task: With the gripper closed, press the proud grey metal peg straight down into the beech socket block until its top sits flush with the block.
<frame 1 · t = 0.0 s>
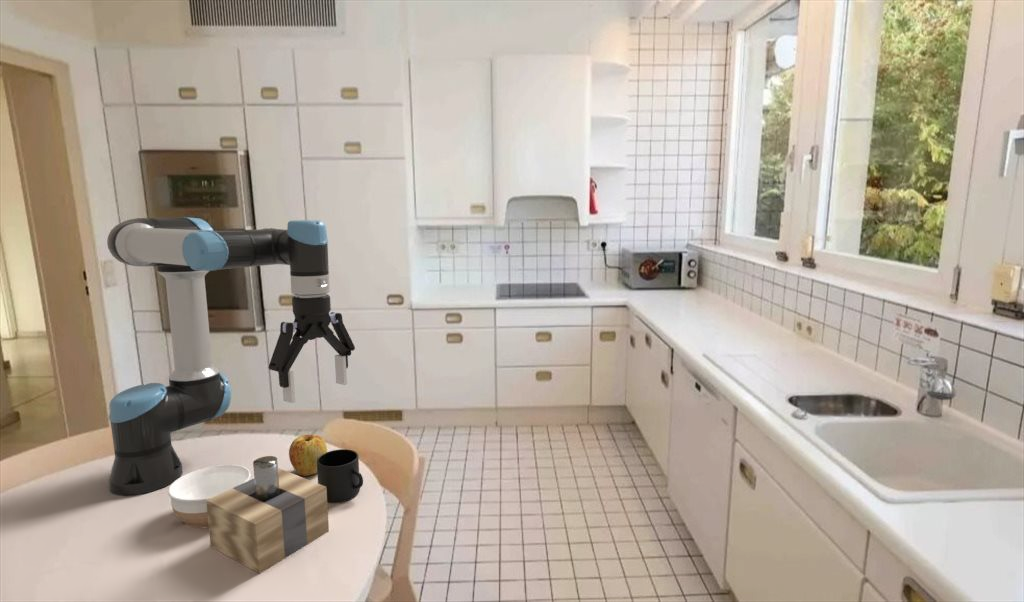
hand: (316, 392, 116), 28 cm above the table, fingers open, 13 cm apart
apple: (309, 473, 139), on the table
socket block: (271, 538, 111), on the table
peg: (266, 481, 109), point 13 cm above the table, slide at 0.0 cm
mug: (343, 495, 128), on the table
bowl: (213, 515, 120), on the table
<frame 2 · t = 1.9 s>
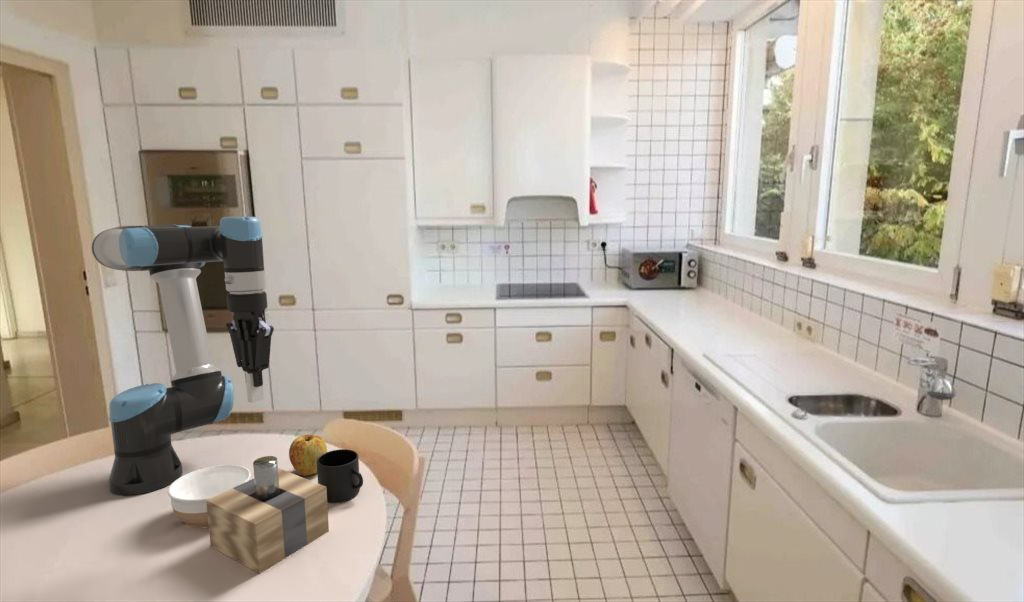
hand: (255, 400, 116), 26 cm above the table, fingers closed
nothing on the table moved.
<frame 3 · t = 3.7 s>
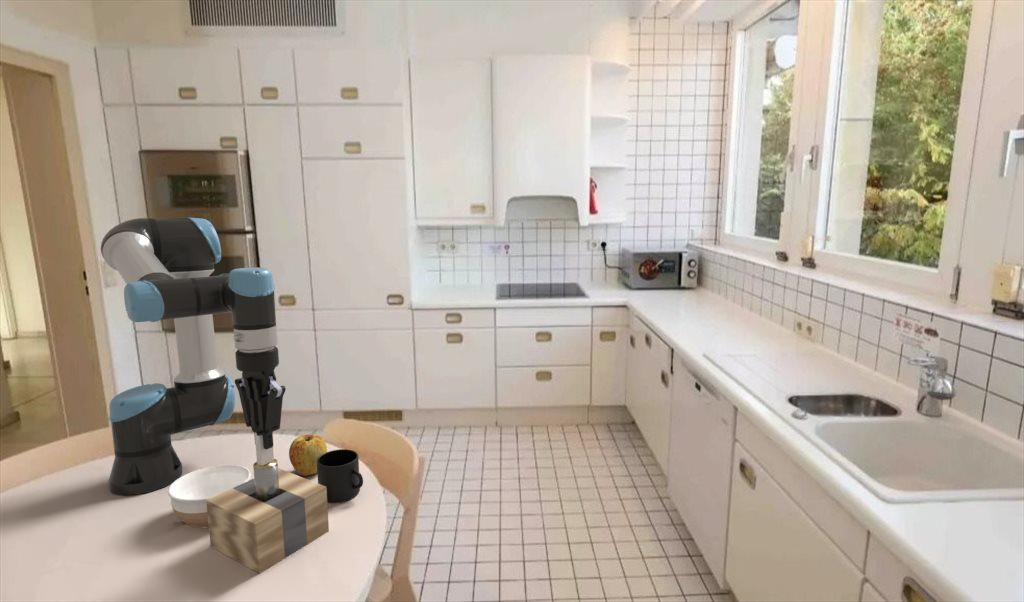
hand: (265, 462, 108), 17 cm above the table, fingers closed
peg: (267, 484, 109), point 12 cm above the table, slide at 0.5 cm, touching gripper
everything else where it was.
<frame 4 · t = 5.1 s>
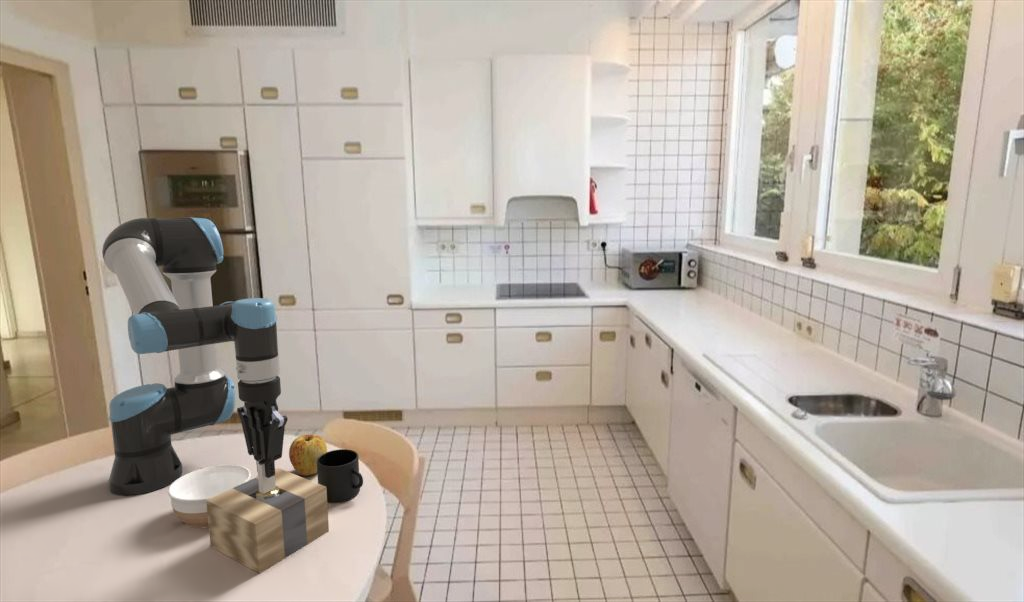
hand: (267, 489, 109), 11 cm above the table, fingers closed
peg: (269, 511, 110), point 6 cm above the table, slide at 6.5 cm, touching gripper
everything else where it was.
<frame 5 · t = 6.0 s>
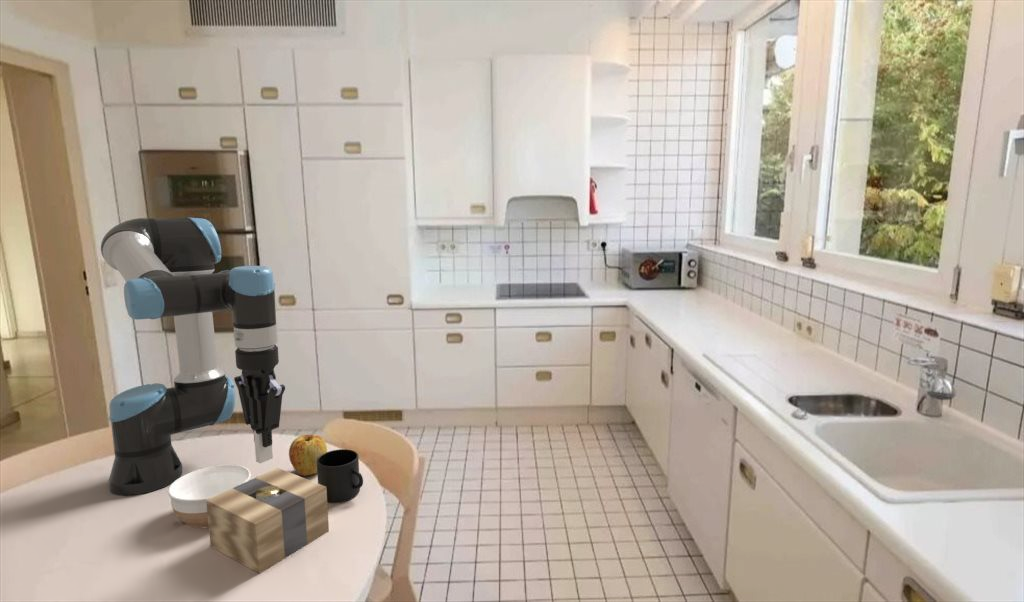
hand: (264, 459, 109), 17 cm above the table, fingers closed
peg: (269, 511, 110), point 6 cm above the table, slide at 6.5 cm
everything else where it was.
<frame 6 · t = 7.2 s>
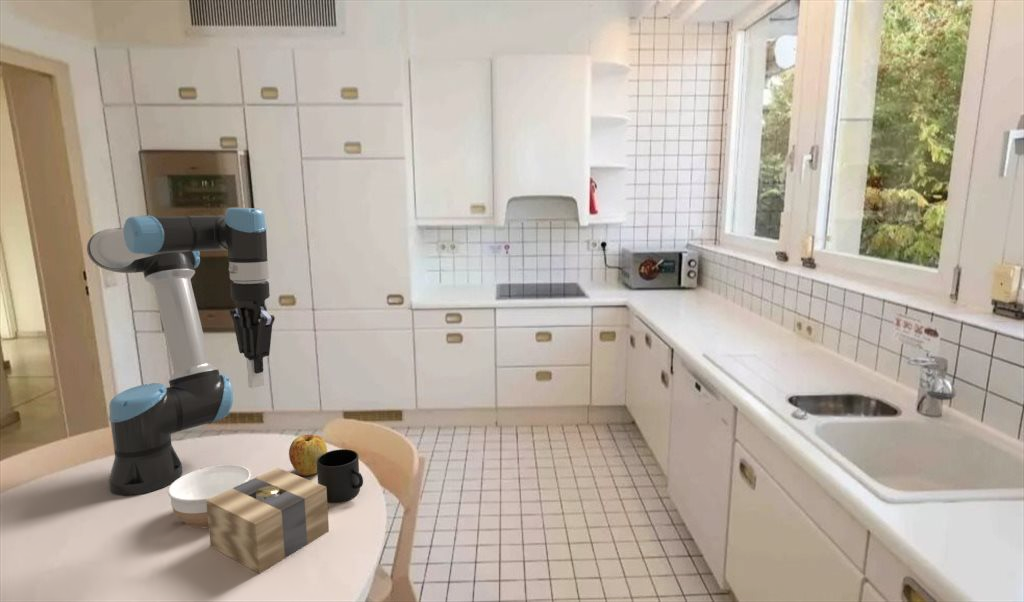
hand: (256, 385, 120), 28 cm above the table, fingers closed
nothing on the table moved.
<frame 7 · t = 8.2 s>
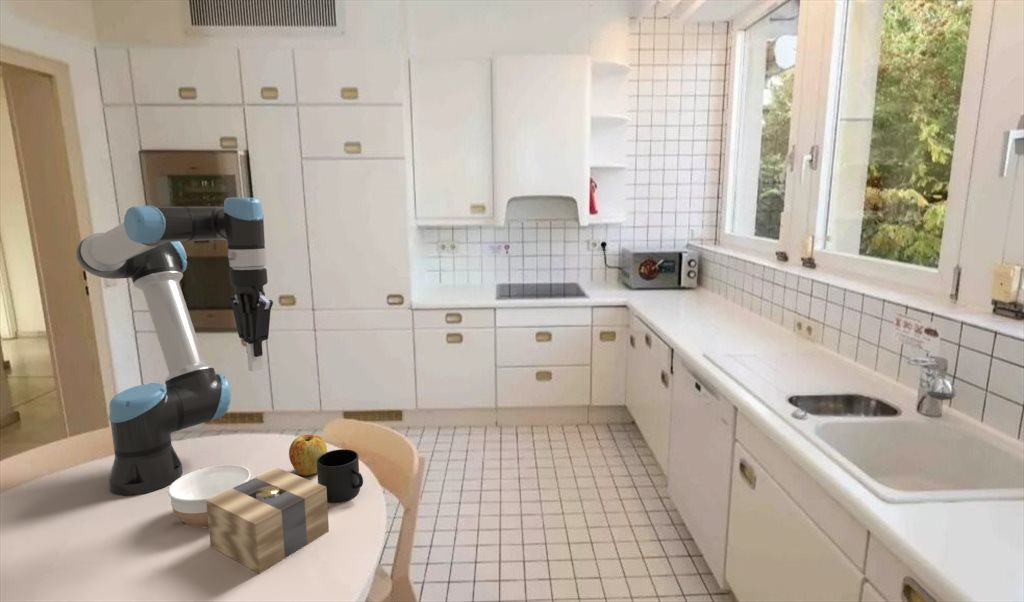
hand: (255, 369, 124), 30 cm above the table, fingers closed
nothing on the table moved.
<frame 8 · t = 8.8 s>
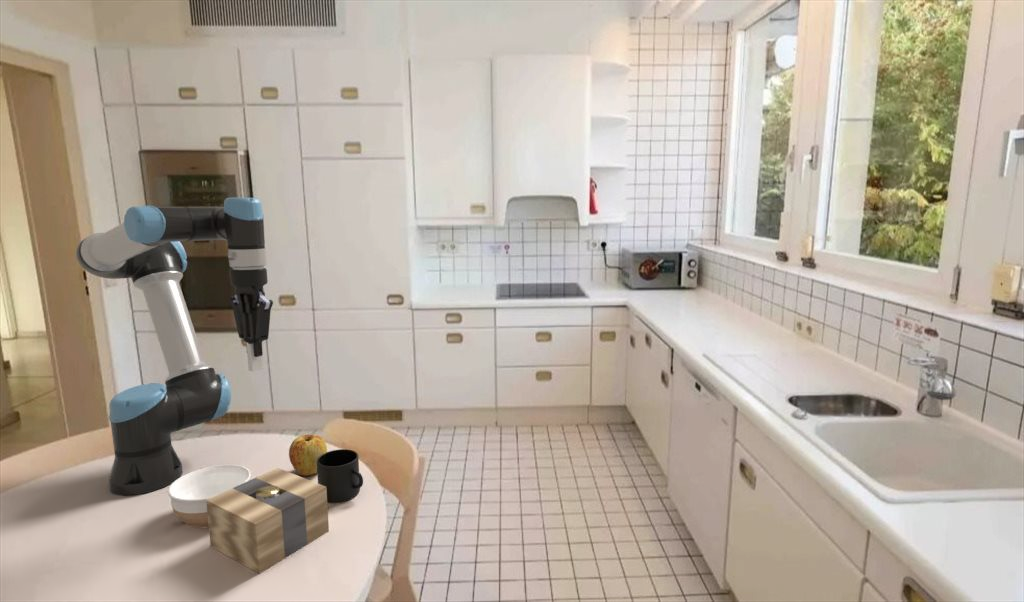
hand: (255, 369, 124), 30 cm above the table, fingers closed
nothing on the table moved.
at the end: peg slide at 6.5 cm; peg touching nothing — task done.
